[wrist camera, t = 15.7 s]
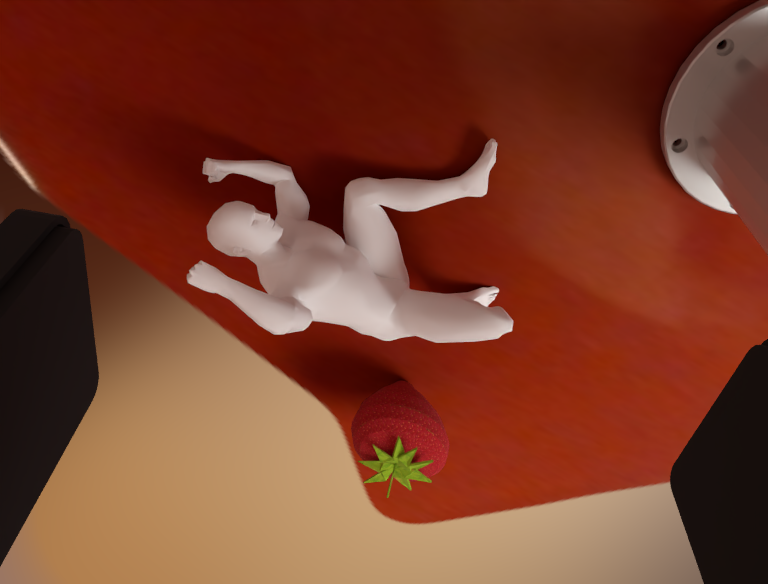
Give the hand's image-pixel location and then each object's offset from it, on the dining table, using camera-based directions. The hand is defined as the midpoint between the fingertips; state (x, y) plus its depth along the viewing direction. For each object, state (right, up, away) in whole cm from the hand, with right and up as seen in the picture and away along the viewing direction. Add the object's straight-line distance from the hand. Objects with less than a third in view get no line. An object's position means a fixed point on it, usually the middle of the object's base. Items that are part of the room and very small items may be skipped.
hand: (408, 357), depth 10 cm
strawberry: (+1, -6, +42) cm, 43 cm away
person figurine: (-1, +5, +34) cm, 35 cm away
